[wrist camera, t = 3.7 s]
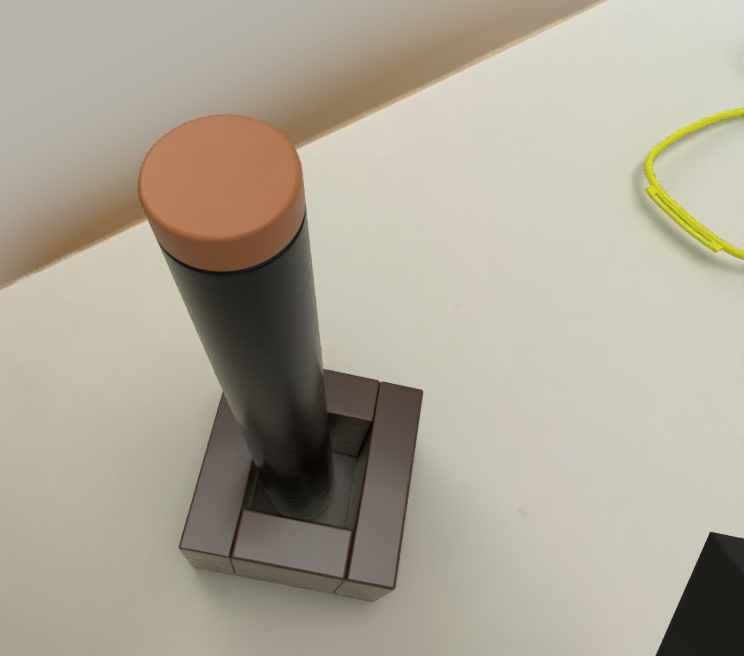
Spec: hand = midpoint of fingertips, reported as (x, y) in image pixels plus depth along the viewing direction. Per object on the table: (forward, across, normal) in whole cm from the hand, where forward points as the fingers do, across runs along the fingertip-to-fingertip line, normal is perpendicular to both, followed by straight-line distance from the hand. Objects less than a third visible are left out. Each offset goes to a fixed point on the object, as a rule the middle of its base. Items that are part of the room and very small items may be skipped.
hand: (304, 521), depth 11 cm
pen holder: (+11, 0, -6) cm, 13 cm away
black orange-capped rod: (+11, 0, -6) cm, 13 cm away
